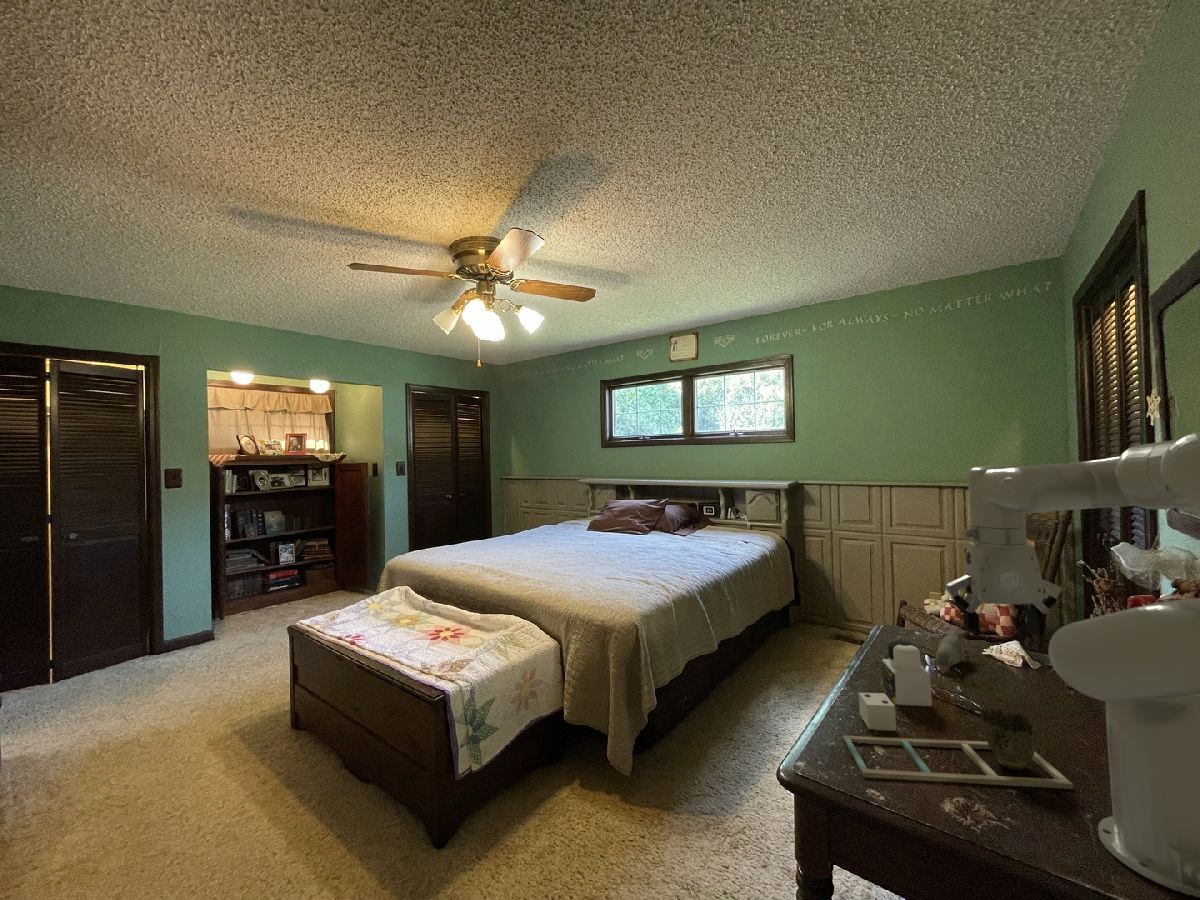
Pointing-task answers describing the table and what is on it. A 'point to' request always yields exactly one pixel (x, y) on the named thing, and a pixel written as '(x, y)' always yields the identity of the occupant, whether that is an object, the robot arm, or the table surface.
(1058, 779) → the ladder
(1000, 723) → the dark patterned vase
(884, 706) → the die
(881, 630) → the table surface
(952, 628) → the decorative bird
